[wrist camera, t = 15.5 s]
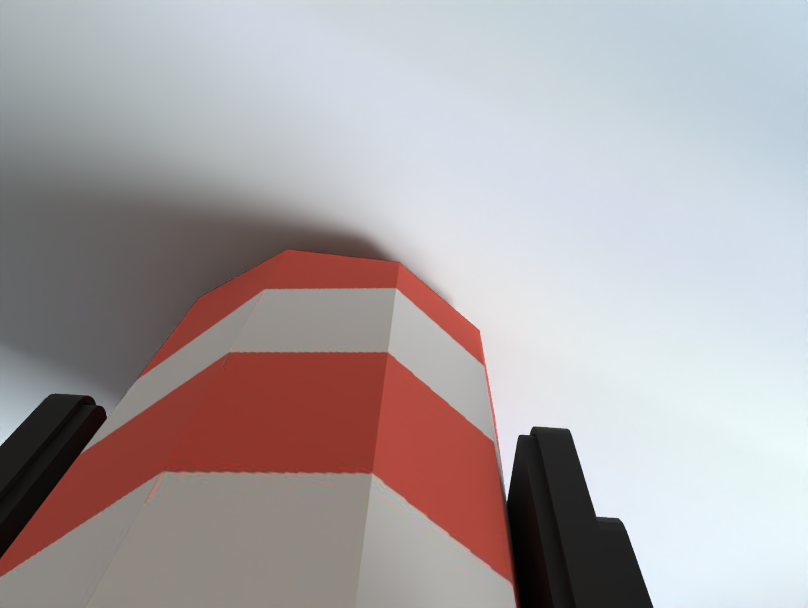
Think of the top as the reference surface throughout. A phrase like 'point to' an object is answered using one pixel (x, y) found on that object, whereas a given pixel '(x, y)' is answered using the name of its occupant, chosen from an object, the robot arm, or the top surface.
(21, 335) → the top surface
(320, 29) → the top surface
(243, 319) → the beverage can
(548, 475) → the robot arm
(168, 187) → the top surface
